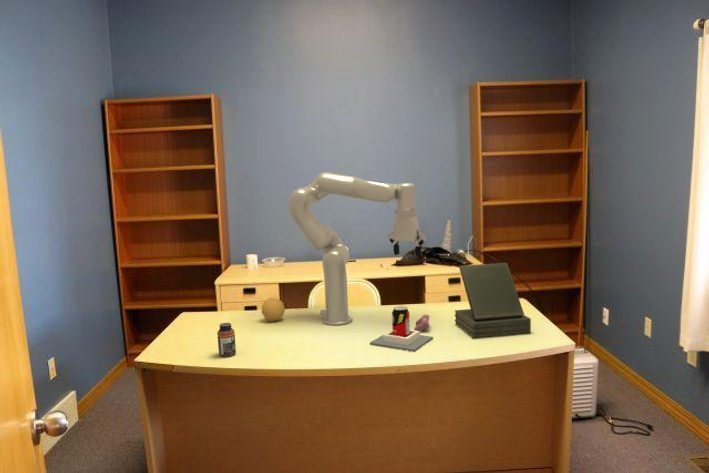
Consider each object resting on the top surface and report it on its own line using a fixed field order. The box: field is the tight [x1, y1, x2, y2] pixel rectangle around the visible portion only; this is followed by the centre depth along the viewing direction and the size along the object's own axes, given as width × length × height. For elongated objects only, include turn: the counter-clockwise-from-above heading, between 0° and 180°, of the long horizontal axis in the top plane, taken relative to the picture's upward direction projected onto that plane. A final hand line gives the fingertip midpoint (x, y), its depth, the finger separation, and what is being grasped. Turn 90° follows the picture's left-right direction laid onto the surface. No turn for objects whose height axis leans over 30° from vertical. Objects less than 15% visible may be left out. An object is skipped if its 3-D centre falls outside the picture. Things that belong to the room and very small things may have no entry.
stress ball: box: [261, 297, 286, 322], centre depth 227 cm, size 10×10×10 cm
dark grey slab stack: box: [454, 262, 532, 340], centre depth 203 cm, size 23×20×25 cm
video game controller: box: [413, 313, 430, 332], centre depth 208 cm, size 10×5×7 cm, turn 170°
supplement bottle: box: [216, 322, 237, 358], centre depth 186 cm, size 6×6×11 cm
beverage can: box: [391, 305, 411, 337], centre depth 193 cm, size 6×6×12 cm
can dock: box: [369, 329, 434, 353], centre depth 193 cm, size 18×16×3 cm
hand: (407, 255), depth 215 cm, fingers open, 9 cm apart
